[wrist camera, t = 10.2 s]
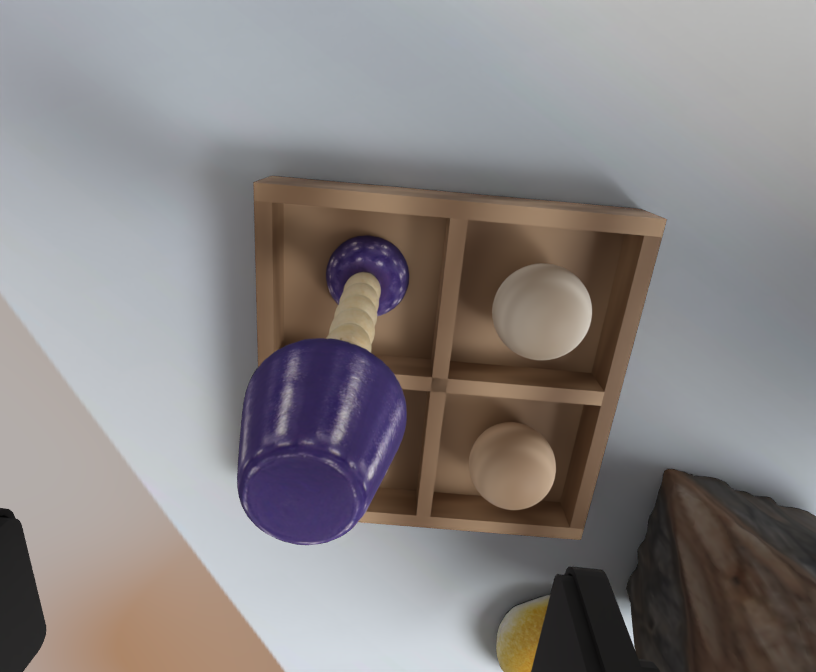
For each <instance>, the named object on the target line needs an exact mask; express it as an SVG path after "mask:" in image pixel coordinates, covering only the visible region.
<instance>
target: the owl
mask: <svg viewBox="0 0 816 672" xmlns="http://www.w3.org/2000/svg"><path fill="white" fill-rule="evenodd" d="M626 589H627V592H628V595H629V599H630V602H631V615H632V626H633V636H634V644H635V645H634V647H635V651H636V654H637V657H638V659H644V660H649V661H652V662H653V663H654V664H655V665H656V666H657V667H658V668H659V670H660V672H816V516H814V515H813V514H811V513H809V512H807V511H804V510H801V509H797V508H792V507H783V506H779V505H777V504H776V502H775V501H774V500H773V499H772V498H770V497H758V496H753V495H751V494H749V493H747V492H744V491H737V490H734V489H733V488H731V487H730V486H729V485H728V484H727V483H726V482H724V481H722V480H719V479H716V478H711V477H702V476H693V475H692V474H688V473H686V472H682V471H678V470H675V469H666V470H665V471H664V474H663V480H662V484H661V487H660V489H659V492H658V497H657V500H656V504H655V507H654V510H653V511H652V513H651V515H650V518H649V521H648V530H647V534H646V537H645V539H644V541H643V542H642V543H641V544H640V546H639V548H638V565H637V568H636V570H635V571H634V572H633V573H632V575H631V576H630V578H629V581H628V584H627V588H626Z"/></svg>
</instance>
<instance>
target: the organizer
mask: <svg viewBox="0 0 816 672" xmlns="http://www.w3.org/2000/svg"><path fill="white" fill-rule="evenodd" d="M253 183H254V223H255V263H256V303H257V342H258V367H259V366H260V365H261V363H262V362H263V361H264V360H265V359H266V358H268V357H269V356H270V355H271V354H273V353H274V352H275V351H277V350H278V349H281V348H282V347H284V346H286V345H289V344H292V343H295V342H298V341H301V340H304V339H316V338H325V339H326V338H327V336H328V335H329V329H330V326H331V323H332V321H333V319H334V314H335V311H336V308H337V306H338V304H337V303H336V302H335V300H334V299H333V298H332V296H331V294H330V292H329V289H328V286H327V281H326V269H327V265H328V262H329V259H330V257H331V255H332V253H333V252H334V251H335V250H336V249H337V247H339V246H340V245H341V244H342V243H343V242H345V241H347V240H348V239H351V238H354V237H357V236H365V235H369V236H374V237H380V238H383V239H384V240H387V241H389V242H391V243H392V244H394V245H395V246H396V247H397V248H398V249H399V250H400V252H401V253H402V254H403V256H404V258H405V259H406V262H407V265H408V268H409V285H408V288H407V291H406V294H405V296H404V297H403V299H402V301H401V302H400V303H399V304H398V305H397V306H396V307H395V308H394V309H392V310H391V311H389V312H388V313H386V314H383V315H381V316H377V321H376V325H375V336H374V339H373V342H372V344H371V353H372V354H373V355H375V356H376V357H378V358H379V359H381V360H382V361H383V362H384V363H385V364H386V365H387V366H388V367H389V368H390V369H391V371H392V372H393V373H394V375H395V376H396V378H397V380H398V381H399V383H400V386H401V388H402V391H403V394H404V397H405V401H406V409H407V422H406V427H405V432H404V435H403V439H402V441H401V444H400V446H399V448H398V451H397V452H396V454H395V456H394V458H393V460H392V462H391V464H390V466H389V468H388V471H387V473H386V475H385V476H384V478H383V480H382V482H381V484H380V486H379V488H378V490H377V492H376V493H375V495H374V497H373V499H372V501H371V503H370V505H369V507H368V509H367V511H366V512H365V514H364V515H363V517H362V518H361V519H360V520H359V521H358V522H363V523H375V524H387V525H400V526H412V527H425V528H437V529H450V530H462V531H475V532H487V533H500V534H512V535H524V536H537V537H549V538H562V539H574V540H581V538H582V534H583V530H584V526H585V523H586V519H587V515H588V512H589V508H590V504H591V500H592V497H593V493H594V489H595V485H596V482H597V478H598V474H599V471H600V467H601V463H602V459H603V456H604V452H605V448H606V444H607V441H608V437H609V433H610V430H611V426H612V422H613V418H614V415H615V411H616V407H617V403H618V400H619V396H620V392H621V389H622V385H623V381H624V377H625V374H626V370H627V366H628V362H629V359H630V355H631V351H632V348H633V344H634V340H635V336H636V333H637V329H638V325H639V321H640V318H641V314H642V310H643V307H644V303H645V299H646V295H647V292H648V288H649V284H650V280H651V277H652V273H653V269H654V266H655V262H656V258H657V254H658V251H659V247H660V243H661V239H662V236H663V232H664V228H665V225H666V221H667V219H665V218H662V217H660V216H657V215H655V214H652V213H650V212H647V211H645V210H642V209H636V208H625V207H614V206H603V205H591V204H580V203H569V202H558V201H547V200H536V199H525V198H513V197H502V196H491V195H480V194H469V193H458V192H447V191H436V190H424V189H413V188H402V187H391V186H380V185H369V184H358V183H346V182H335V181H324V180H313V179H302V178H291V177H280V176H269V177H266V178H264V179H261V180H258V181H256V182H253ZM539 263H547V264H553V265H557V266H560V267H563V268H565V269H567V270H568V271H570V272H572V273H573V274H574V275H575V276H577V277H578V278H579V279H580V281H581V282H582V283H583V284H584V286H585V287H586V289H587V291H588V293H589V296H590V300H591V304H592V318H591V323H590V327H589V329H588V332H587V334H586V335H585V337H584V338H583V340H582V341H581V342H580V344H579V345H578V346H577V347H576V348H574V349H573V350H572V351H570V352H569V353H567V354H565V355H563V356H561V357H558V358H555V359H550V360H533V359H528V358H525V357H523V356H520V355H518V354H516V353H515V352H513V351H512V350H510V349H509V348H508V347H507V346H506V345H505V344H504V343H503V342H502V340H501V339H500V337H499V336H498V334H497V332H496V330H495V327H494V323H493V318H492V308H493V302H494V298H495V295H496V293H497V291H498V289H499V287H500V286H501V284H502V283H503V282H504V281H505V279H506V278H507V277H509V276H510V275H511V274H512V273H514V272H515V271H517V270H519V269H521V268H523V267H525V266H528V265H532V264H539ZM504 422H516V423H521V424H525V425H527V426H530V427H531V428H533V429H535V430H536V431H538V432H539V433H540V434H541V435H542V436H543V437H544V438H545V439H546V440H547V442H548V443H549V445H550V447H551V449H552V451H553V454H554V457H555V462H556V473H555V479H554V482H553V485H552V487H551V489H550V491H549V492H548V494H547V495H546V496H545V497H544V498H543V499H542V500H541V501H540V502H538V503H537V504H535V505H533V506H531V507H529V508H526V509H521V510H507V509H503V508H500V507H497V506H495V505H493V504H491V503H490V502H488V501H487V500H486V499H485V498H483V497H482V496H481V494H480V493H479V492H478V491H477V489H476V488H475V486H474V484H473V482H472V479H471V476H470V472H469V457H470V452H471V449H472V447H473V445H474V443H475V441H476V440H477V438H478V437H479V436H480V435H481V434H482V433H483V432H484V431H485V430H487V429H488V428H490V427H492V426H494V425H496V424H500V423H504Z"/></svg>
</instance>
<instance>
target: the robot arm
mask: <svg viewBox="0 0 816 672" xmlns="http://www.w3.org/2000/svg"><path fill="white" fill-rule="evenodd" d="M45 635H46V624H45V620H44V615H43V611H42V607H41V603H40V599H39V595H38V591H37V587H36V583H35V578H34V574H33V570H32V566H31V562H30V558H29V553H28V549H27V545H26V541H25V537H24V533H23V528H22V525H21V523H20V521H19V520H18V519H15V516H14V514H13V512H12V511H10V510H9V509H3V508H0V672H23V671H24V670H25V668H26V667H27V666H28V664H29V663H30V662H31V660H32V659H33V658H34V656H35V655H36V654H37V652H38V651H39V649H40V648H41V646H42V644H43V642H44V639H45ZM531 672H660V670H659V668H658V667H657V666H656V665H655V664H654V663H653V662H652V661H649V660H644V659H638V657H637V654H636V652H635V649H634V646H633V644H632V641H631V638H630V636H629V633H628V630H627V628H626V625H625V623H624V620H623V617H622V615H621V612H620V609H619V607H618V604H617V601H616V599H615V596H614V593H613V591H612V588H611V586H610V583H609V580H608V578H607V576H606V574H605V572H604V571H603V570H599V569H589V568H579V567H568V568H567V569H566V572H565V575H559V574H557V575H556V576H555V579H554V582H553V586H552V590H551V594H550V598H549V602H548V606H547V610H546V614H545V618H544V622H543V626H542V630H541V634H540V638H539V642H538V646H537V650H536V654H535V658H534V662H533V666H532V670H531Z"/></svg>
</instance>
